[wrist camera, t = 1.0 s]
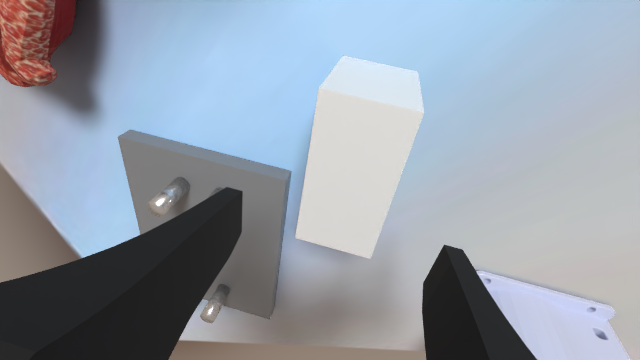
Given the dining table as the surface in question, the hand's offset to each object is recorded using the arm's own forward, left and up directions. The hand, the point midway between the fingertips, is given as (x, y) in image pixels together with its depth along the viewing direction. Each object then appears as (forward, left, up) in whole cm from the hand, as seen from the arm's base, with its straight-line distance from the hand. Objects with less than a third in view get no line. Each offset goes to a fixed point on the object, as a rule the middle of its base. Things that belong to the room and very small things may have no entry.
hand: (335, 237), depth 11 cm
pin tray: (+10, +12, -9) cm, 18 cm away
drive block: (0, 0, -9) cm, 9 cm away
